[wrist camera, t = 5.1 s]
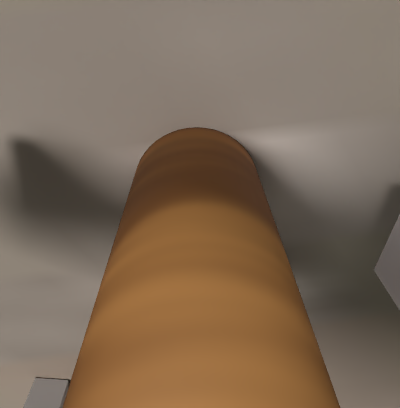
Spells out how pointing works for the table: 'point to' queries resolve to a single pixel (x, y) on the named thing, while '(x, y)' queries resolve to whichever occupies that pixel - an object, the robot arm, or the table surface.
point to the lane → (47, 393)
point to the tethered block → (199, 293)
